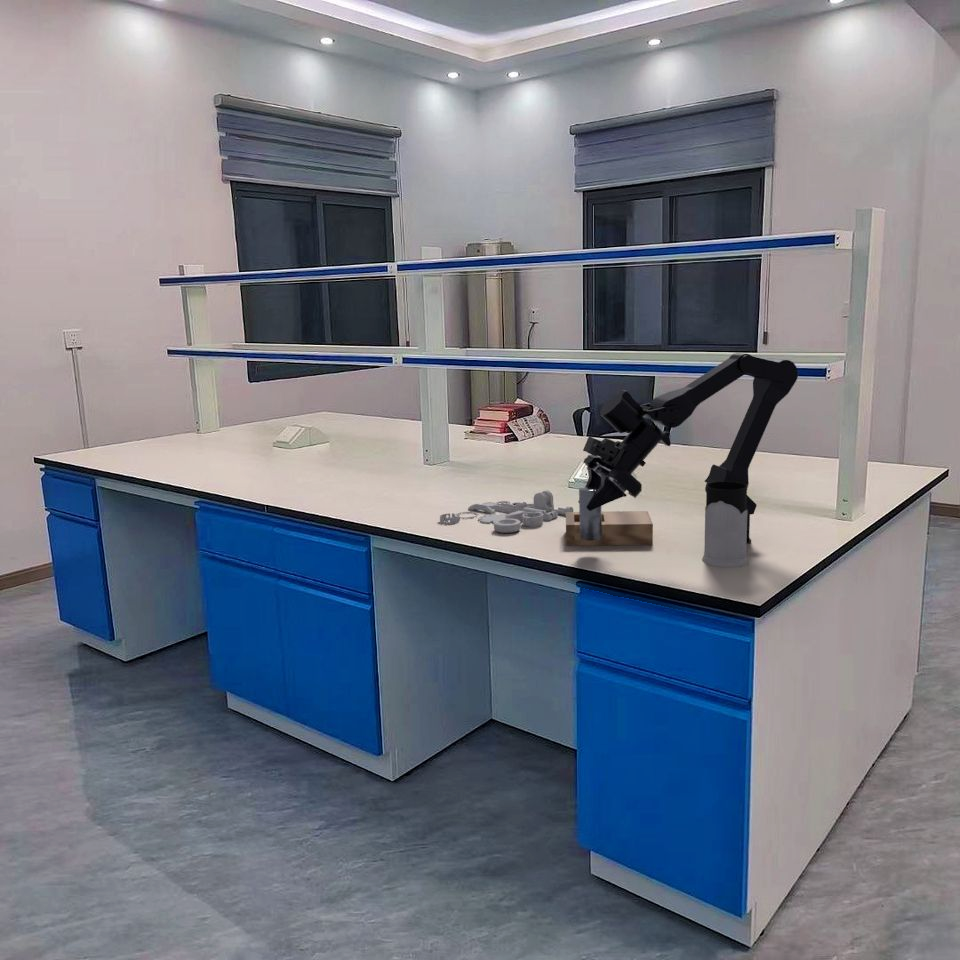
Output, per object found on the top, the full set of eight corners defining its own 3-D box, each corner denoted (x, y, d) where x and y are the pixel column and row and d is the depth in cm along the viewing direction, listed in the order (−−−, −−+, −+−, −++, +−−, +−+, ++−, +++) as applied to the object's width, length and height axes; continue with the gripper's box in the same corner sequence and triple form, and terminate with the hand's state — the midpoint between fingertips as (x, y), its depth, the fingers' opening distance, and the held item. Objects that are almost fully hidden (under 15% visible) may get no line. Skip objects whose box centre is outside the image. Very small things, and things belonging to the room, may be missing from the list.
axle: (601, 534, 177) (600, 486, 175) (602, 540, 173) (601, 491, 170) (579, 534, 177) (578, 487, 175) (580, 540, 173) (579, 492, 171)
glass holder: (696, 563, 167) (697, 488, 164) (716, 544, 179) (718, 474, 176) (741, 569, 163) (743, 492, 160) (760, 549, 175) (762, 477, 171)
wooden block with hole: (647, 530, 191) (647, 510, 191) (652, 544, 181) (652, 523, 180) (566, 531, 193) (565, 512, 192) (566, 545, 182) (565, 524, 182)
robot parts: (430, 524, 207) (428, 502, 206) (498, 502, 225) (497, 482, 224) (508, 540, 191) (507, 516, 190) (575, 515, 209) (575, 494, 208)
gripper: (591, 416, 180) (542, 472, 180) (625, 428, 162) (571, 491, 162) (627, 450, 183) (579, 505, 183) (664, 466, 165) (611, 527, 165)
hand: (583, 506), depth 173 cm, fingers closed on axle, 4 cm apart
